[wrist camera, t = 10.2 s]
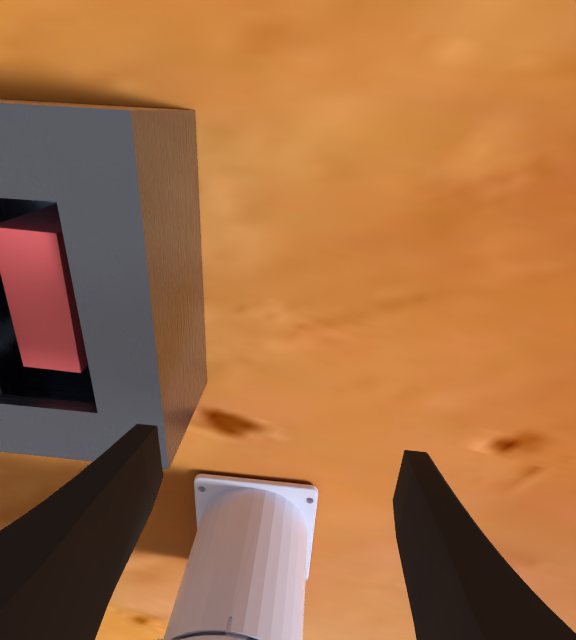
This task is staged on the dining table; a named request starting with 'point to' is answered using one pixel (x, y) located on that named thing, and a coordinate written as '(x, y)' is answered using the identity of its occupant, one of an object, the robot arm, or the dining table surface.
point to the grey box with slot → (108, 274)
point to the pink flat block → (41, 291)
